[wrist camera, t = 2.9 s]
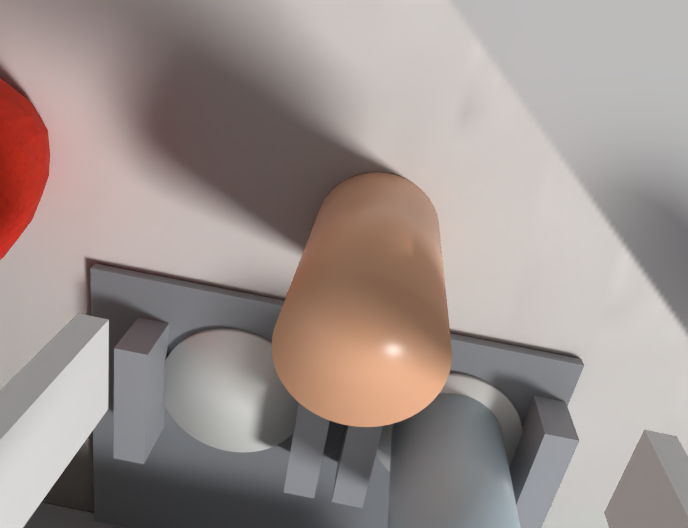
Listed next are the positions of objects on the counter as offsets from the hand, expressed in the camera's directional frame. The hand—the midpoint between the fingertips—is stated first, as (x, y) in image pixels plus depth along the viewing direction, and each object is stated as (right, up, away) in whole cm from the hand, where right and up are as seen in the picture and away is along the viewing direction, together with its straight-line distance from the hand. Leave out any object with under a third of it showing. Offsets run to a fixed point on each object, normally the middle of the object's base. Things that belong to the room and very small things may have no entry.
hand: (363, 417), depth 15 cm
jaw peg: (+1, +5, +10) cm, 11 cm away
